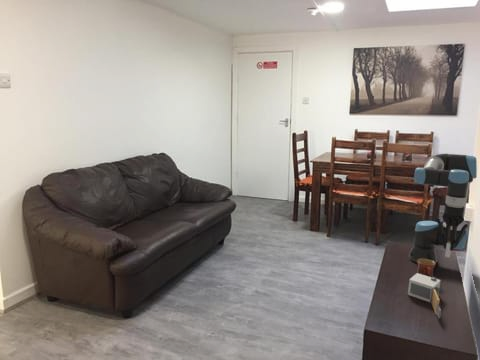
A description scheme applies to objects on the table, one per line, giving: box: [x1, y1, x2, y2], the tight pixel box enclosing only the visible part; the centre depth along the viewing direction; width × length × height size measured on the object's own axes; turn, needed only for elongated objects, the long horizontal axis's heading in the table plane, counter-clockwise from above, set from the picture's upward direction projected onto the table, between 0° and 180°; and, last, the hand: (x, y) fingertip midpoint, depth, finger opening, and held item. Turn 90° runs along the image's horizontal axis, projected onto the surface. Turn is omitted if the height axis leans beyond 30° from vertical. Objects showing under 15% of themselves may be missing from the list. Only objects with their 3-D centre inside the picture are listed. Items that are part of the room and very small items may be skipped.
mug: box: [416, 259, 436, 277], centre depth 205 cm, size 12×9×10 cm
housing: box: [407, 272, 442, 303], centre depth 190 cm, size 10×12×9 cm
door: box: [429, 288, 442, 319], centre depth 176 cm, size 1×16×8 cm, turn 164°
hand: (447, 256), depth 177 cm, fingers closed
